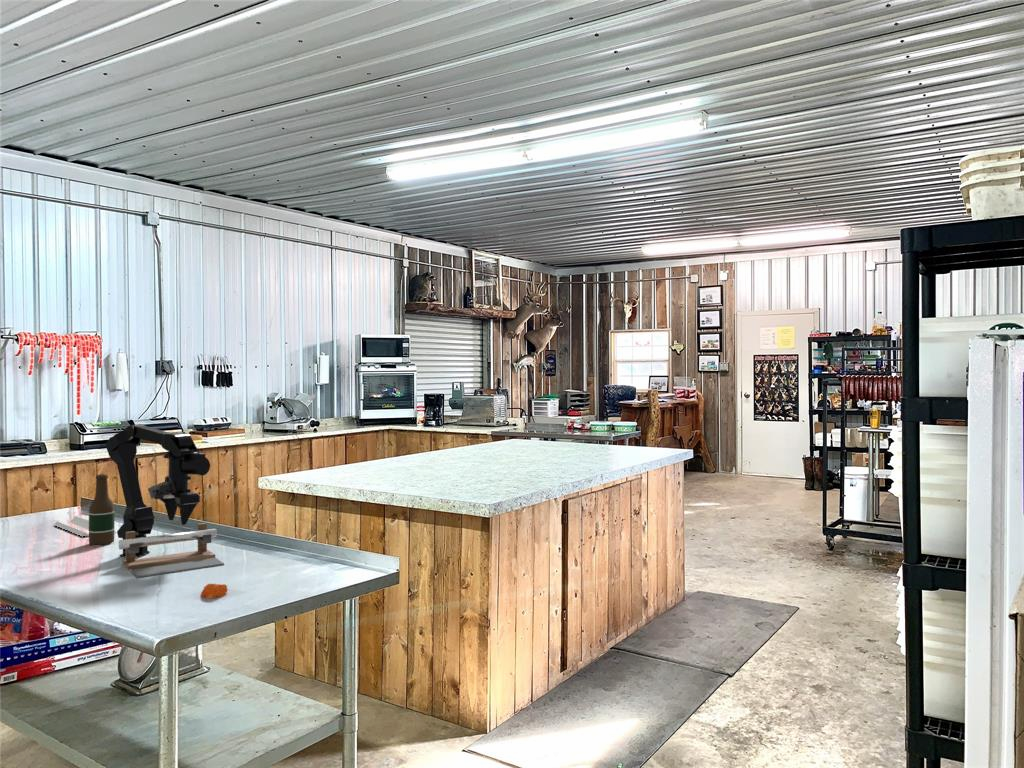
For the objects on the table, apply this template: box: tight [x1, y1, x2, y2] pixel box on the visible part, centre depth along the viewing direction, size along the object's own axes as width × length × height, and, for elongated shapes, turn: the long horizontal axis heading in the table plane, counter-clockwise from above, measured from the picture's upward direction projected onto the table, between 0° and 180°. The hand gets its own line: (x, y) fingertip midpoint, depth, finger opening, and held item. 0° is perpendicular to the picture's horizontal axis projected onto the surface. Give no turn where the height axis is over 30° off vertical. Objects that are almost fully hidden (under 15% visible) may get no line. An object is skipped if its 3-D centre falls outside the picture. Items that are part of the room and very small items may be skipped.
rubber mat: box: [130, 557, 225, 579], centre depth 216 cm, size 9×24×1 cm, turn 128°
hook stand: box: [121, 522, 216, 571], centre depth 225 cm, size 9×25×10 cm, turn 128°
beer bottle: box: [88, 473, 115, 546], centre depth 249 cm, size 8×8×24 cm
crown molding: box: [53, 515, 116, 538], centre depth 273 cm, size 31×12×4 cm, turn 49°
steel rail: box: [118, 528, 218, 550], centre depth 225 cm, size 28×3×3 cm, turn 128°
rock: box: [200, 583, 228, 600], centre depth 189 cm, size 12×12×4 cm
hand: (177, 522), depth 226 cm, fingers open, 9 cm apart
